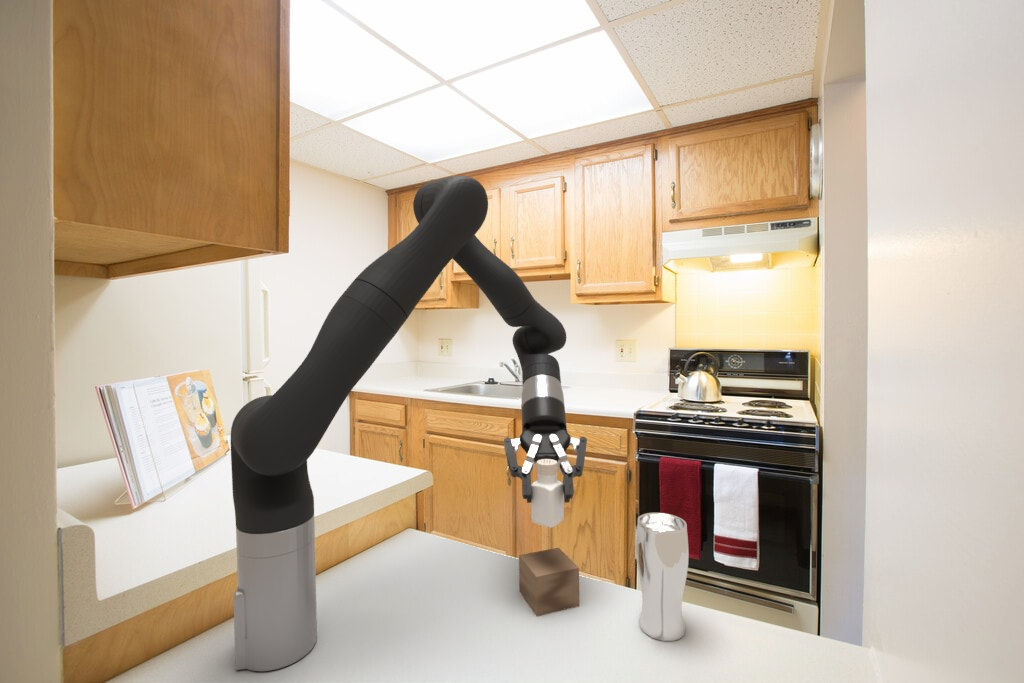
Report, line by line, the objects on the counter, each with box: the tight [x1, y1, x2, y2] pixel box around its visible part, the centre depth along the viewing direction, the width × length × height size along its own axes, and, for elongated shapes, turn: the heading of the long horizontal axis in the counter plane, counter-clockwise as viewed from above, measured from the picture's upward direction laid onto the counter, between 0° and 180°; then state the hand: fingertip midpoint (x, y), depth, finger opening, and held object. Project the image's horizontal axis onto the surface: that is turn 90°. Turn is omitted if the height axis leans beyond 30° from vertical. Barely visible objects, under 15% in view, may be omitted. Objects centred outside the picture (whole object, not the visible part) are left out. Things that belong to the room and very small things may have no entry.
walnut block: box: [518, 547, 580, 617], centre depth 74 cm, size 7×7×6 cm
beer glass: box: [635, 512, 690, 642], centre depth 66 cm, size 7×7×15 cm
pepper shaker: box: [530, 459, 565, 529], centre depth 73 cm, size 4×4×10 cm
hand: (548, 500), depth 71 cm, fingers closed on pepper shaker, 5 cm apart
